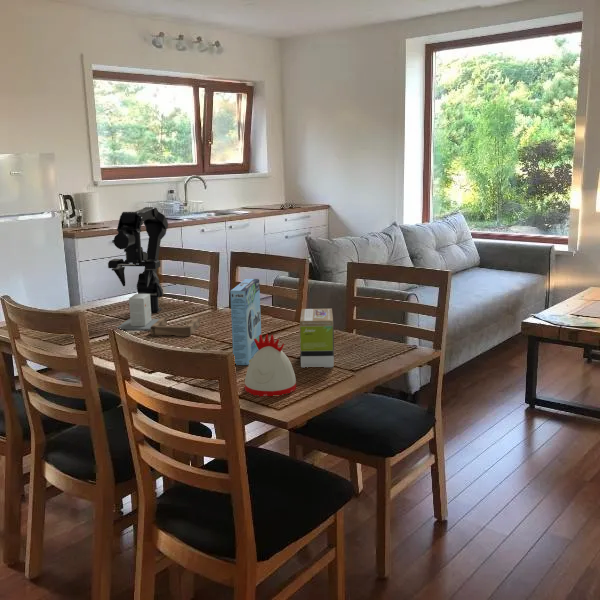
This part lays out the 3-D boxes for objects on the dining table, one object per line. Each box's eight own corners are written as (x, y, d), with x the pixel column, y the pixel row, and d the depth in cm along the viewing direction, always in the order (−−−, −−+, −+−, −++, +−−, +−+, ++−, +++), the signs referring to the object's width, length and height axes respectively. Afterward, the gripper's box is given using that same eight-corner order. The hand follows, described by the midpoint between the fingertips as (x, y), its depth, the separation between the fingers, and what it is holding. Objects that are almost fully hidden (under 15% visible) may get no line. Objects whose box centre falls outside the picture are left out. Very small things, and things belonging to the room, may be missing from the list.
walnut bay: (163, 324, 247) (162, 316, 247) (200, 325, 246) (199, 317, 245) (150, 335, 233) (150, 327, 233) (190, 335, 232) (189, 327, 231)
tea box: (301, 353, 211) (301, 307, 208) (333, 353, 211) (333, 307, 208) (300, 368, 197) (299, 319, 193) (334, 368, 196) (334, 319, 193)
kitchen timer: (255, 377, 189) (254, 326, 186) (302, 381, 185) (301, 329, 182) (237, 394, 176) (235, 339, 173) (286, 399, 172) (286, 343, 169)
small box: (137, 320, 251) (135, 293, 249) (151, 320, 251) (150, 293, 248) (130, 326, 243) (128, 298, 241) (145, 326, 243) (143, 298, 241)
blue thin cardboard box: (248, 366, 199) (246, 291, 194) (231, 365, 200) (229, 290, 195) (262, 347, 218) (260, 278, 213) (247, 346, 219) (245, 278, 214)
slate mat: (129, 320, 255) (129, 318, 254) (165, 320, 253) (165, 319, 253) (116, 329, 241) (116, 328, 241) (153, 330, 240) (153, 328, 240)
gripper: (164, 242, 255) (166, 282, 259) (118, 242, 258) (121, 281, 262) (153, 246, 244) (156, 288, 248) (105, 246, 248) (108, 287, 251)
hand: (135, 286), depth 252 cm, fingers open, 9 cm apart
